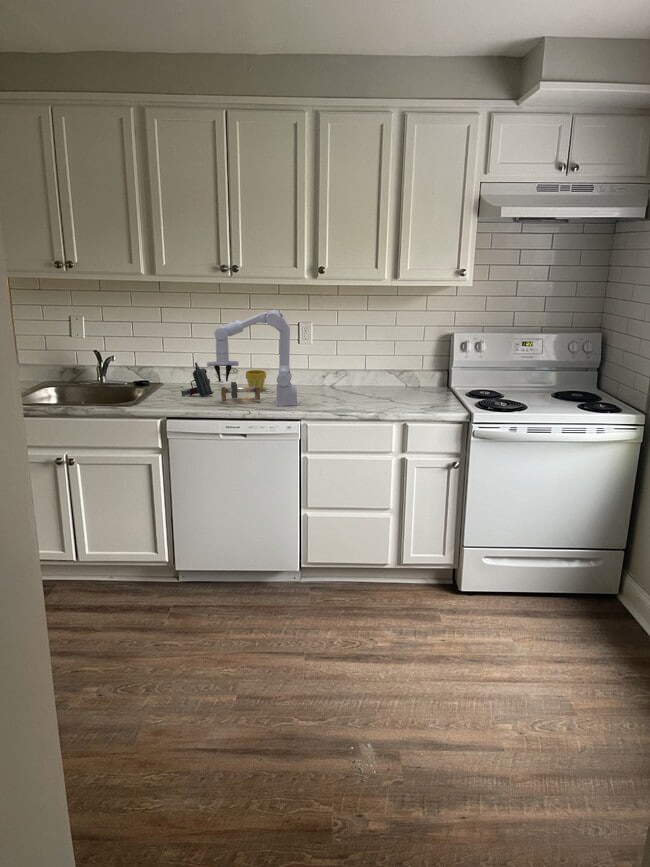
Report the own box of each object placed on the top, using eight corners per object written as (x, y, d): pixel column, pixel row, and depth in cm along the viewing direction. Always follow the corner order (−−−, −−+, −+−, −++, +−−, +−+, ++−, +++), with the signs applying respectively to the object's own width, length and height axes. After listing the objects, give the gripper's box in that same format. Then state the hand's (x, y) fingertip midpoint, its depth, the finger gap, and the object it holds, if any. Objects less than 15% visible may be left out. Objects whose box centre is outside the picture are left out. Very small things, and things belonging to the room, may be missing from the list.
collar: (236, 394, 307) (235, 381, 306) (237, 398, 301) (237, 384, 300) (231, 395, 307) (230, 382, 305) (232, 398, 301) (231, 385, 299)
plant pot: (264, 392, 324) (264, 374, 321) (244, 392, 324) (244, 373, 322) (267, 388, 334) (267, 369, 331) (247, 387, 334) (247, 369, 331)
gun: (174, 367, 312) (203, 360, 312) (184, 400, 317) (213, 392, 317) (173, 369, 310) (202, 361, 309) (184, 401, 315) (213, 393, 314)
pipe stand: (258, 399, 310) (258, 385, 308) (260, 402, 305) (260, 387, 303) (221, 401, 307) (220, 386, 304) (222, 404, 301) (221, 389, 299)
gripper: (237, 350, 302) (237, 378, 306) (206, 351, 299) (207, 379, 303) (238, 353, 296) (239, 382, 300) (206, 354, 293) (207, 383, 297)
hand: (223, 381), depth 301 cm, fingers open, 3 cm apart
